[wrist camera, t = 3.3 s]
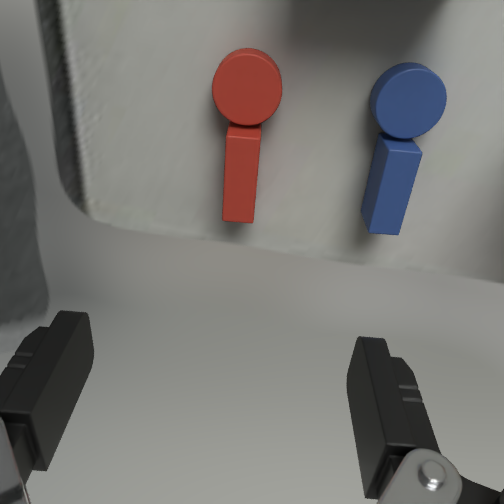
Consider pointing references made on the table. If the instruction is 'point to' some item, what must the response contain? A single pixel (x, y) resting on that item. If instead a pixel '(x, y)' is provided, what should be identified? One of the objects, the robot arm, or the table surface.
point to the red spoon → (244, 123)
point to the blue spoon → (399, 141)
